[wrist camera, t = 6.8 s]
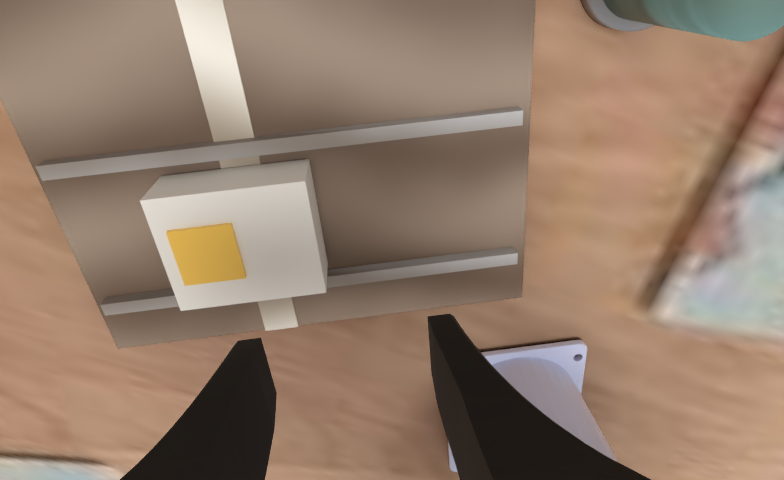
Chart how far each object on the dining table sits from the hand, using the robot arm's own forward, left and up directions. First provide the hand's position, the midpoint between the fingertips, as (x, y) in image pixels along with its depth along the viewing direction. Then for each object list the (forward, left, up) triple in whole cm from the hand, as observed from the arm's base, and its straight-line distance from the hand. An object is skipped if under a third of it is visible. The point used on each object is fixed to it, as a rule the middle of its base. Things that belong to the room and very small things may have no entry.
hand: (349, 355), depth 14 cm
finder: (0, +4, -9) cm, 10 cm away
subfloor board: (+3, +2, -10) cm, 11 cm away
